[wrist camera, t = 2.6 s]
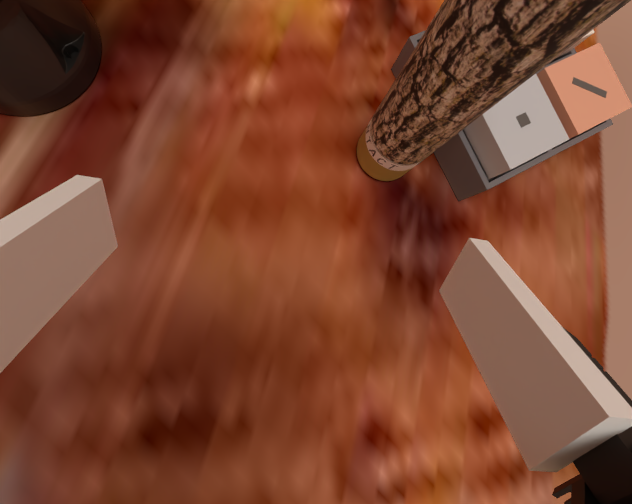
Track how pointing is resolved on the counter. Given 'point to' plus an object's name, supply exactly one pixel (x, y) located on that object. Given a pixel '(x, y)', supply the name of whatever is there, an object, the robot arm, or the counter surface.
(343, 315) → the counter surface
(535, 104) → the key slate
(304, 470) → the counter surface
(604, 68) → the key terracotta
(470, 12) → the brown bark-patterned cylinder
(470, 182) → the keypad
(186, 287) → the counter surface
